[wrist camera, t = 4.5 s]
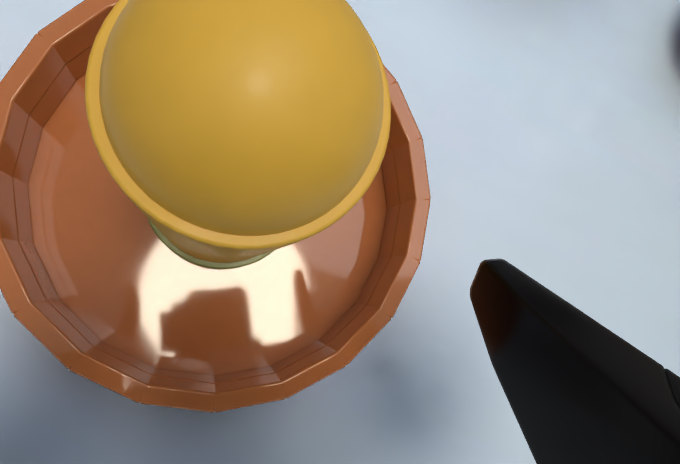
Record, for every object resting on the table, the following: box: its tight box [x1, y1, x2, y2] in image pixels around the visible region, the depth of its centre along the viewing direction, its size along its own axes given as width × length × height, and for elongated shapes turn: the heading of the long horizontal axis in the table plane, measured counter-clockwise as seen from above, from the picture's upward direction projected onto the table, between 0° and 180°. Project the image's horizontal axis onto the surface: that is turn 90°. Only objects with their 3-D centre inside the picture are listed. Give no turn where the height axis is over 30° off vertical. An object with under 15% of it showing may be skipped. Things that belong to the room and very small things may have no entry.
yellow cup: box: [85, 0, 391, 269], centre depth 13 cm, size 5×5×14 cm
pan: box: [0, 0, 430, 412], centre depth 18 cm, size 14×14×3 cm
